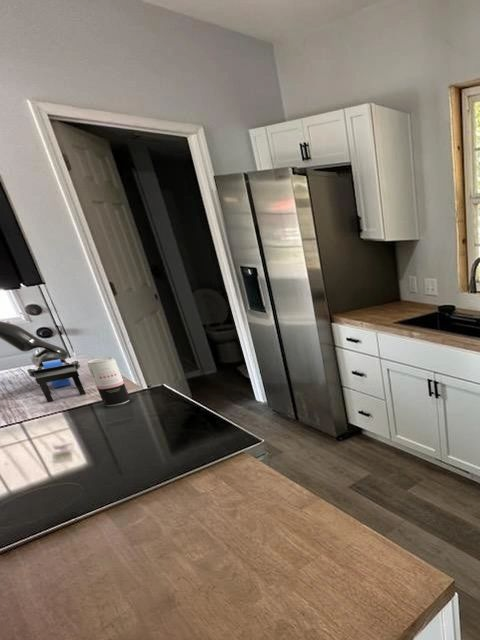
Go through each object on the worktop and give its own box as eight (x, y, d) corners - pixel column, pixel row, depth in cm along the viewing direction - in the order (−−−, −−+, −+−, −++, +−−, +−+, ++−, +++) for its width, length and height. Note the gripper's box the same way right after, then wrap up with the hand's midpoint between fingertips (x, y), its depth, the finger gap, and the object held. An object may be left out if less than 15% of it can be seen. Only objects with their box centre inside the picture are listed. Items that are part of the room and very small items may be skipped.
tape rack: (44, 393, 148) (33, 370, 145) (82, 385, 155) (72, 363, 152) (46, 402, 139) (35, 378, 136) (87, 393, 146) (77, 370, 143)
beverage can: (104, 402, 137) (86, 360, 132) (130, 397, 142) (114, 355, 136) (104, 408, 133) (86, 364, 128) (131, 402, 137) (114, 359, 132)
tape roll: (53, 387, 149) (41, 361, 147) (54, 388, 156) (42, 362, 154) (71, 384, 153) (59, 358, 151) (71, 384, 159) (60, 359, 157)
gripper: (21, 360, 155) (22, 368, 144) (74, 351, 165) (79, 358, 154) (30, 378, 157) (32, 388, 147) (82, 368, 167) (87, 377, 157)
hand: (56, 372), depth 151 cm, fingers closed on tape roll, 4 cm apart
